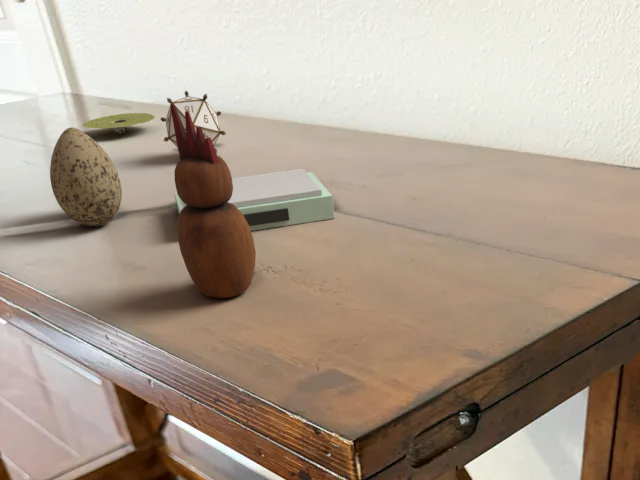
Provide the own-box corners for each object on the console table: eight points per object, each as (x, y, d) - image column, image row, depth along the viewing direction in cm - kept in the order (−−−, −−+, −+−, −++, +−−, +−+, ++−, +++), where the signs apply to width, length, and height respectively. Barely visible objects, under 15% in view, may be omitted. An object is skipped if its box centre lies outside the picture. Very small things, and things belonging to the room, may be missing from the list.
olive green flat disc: (72, 136, 131) (68, 123, 130) (131, 122, 137) (128, 110, 136) (111, 144, 125) (107, 130, 123) (171, 129, 131) (168, 115, 130)
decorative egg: (56, 225, 92) (26, 129, 86) (117, 211, 95) (92, 117, 89) (77, 240, 87) (46, 139, 81) (140, 224, 90) (115, 126, 84)
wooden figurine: (180, 289, 74) (137, 105, 65) (237, 273, 76) (204, 94, 67) (211, 311, 69) (170, 116, 60) (271, 293, 72) (240, 104, 63)
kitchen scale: (187, 241, 85) (180, 211, 83) (178, 212, 93) (172, 185, 92) (335, 219, 88) (332, 190, 86) (314, 193, 97) (310, 166, 95)
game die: (196, 188, 115) (144, 136, 107) (190, 153, 120) (139, 100, 112) (245, 151, 113) (195, 94, 105) (237, 116, 117) (188, 59, 109)
